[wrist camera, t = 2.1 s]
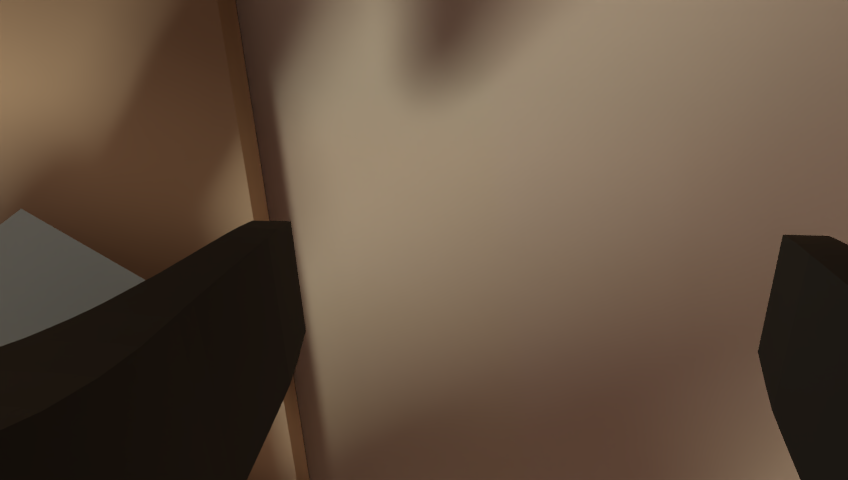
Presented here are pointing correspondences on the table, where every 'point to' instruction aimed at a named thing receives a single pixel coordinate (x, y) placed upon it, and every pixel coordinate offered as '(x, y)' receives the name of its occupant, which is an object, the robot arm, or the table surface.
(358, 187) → the table surface
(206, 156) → the cradle
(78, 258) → the grey block
